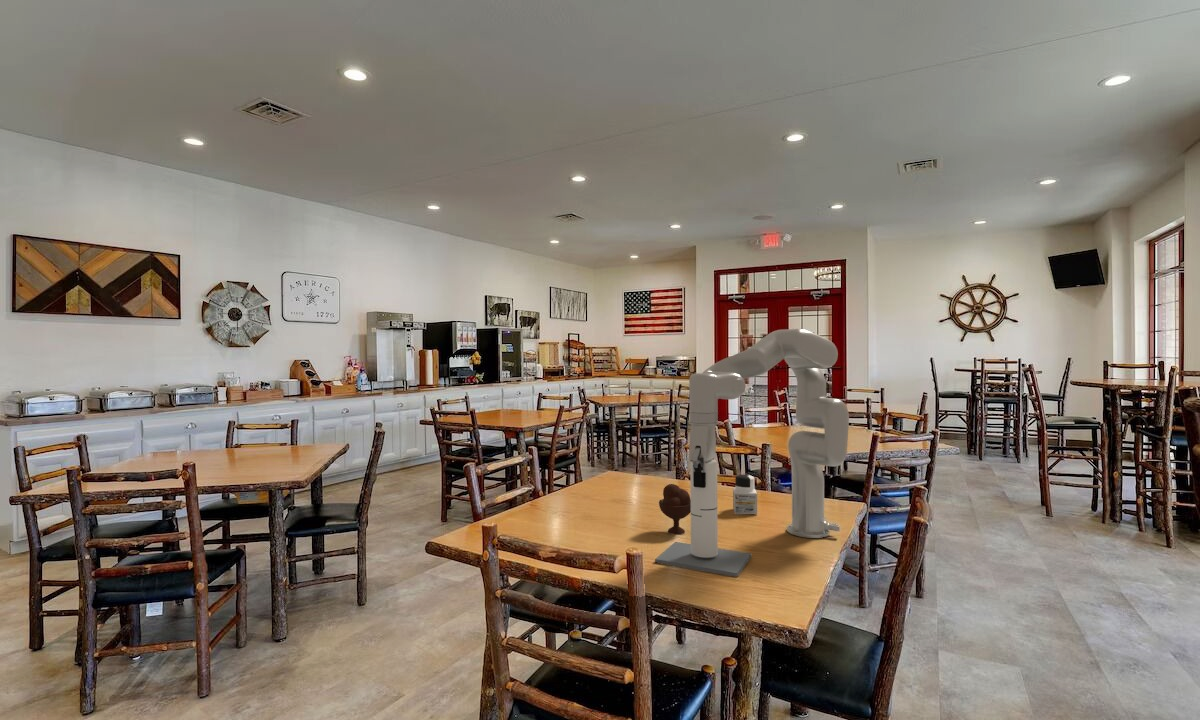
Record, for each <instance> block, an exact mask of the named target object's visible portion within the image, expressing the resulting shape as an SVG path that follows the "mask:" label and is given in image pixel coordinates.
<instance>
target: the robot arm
mask: <svg viewBox="0 0 1200 720" xmlns="http://www.w3.org/2000/svg"><path fill="white" fill-rule="evenodd" d="M838 352H839V351H838V348H837V346H836V345H835V343H834V342H832V341H831V340H829V339H828V338H826V337H823V336H821V335H819V334H816V333H814V332H812V331H809V330H806V329H803V328H791V329H790V328H789V329H787V328H786V329H777V330H774V331H772V332H770V333H768V334H767V335H766V336H763V338H761V339H760V340H758V341H757V342H755V344H753V345H751V346H750V347H749V348H747V349H745V350H743V351H741V352H738V353H735V354H733V355H730V356H728V357H726V358H723V359H720V360H719V361H717V362H715V363H713V364H712V365H711V366H709V367H707V368H706V369H705V370H704V371H702V372H701V373H700V372H699V373H698V372H697V373H692V374H690V376H689V382H688V383H689V387H688V388H689V391H688V392H689V394H688V395H689V399H688V400H689V401H688V402H689V425H690V432H689V447H688V448H689V449H688V460H689V461H693V486H694V487H700V488H705V487H706V473H705V472H704V470H705V463H706V462H708V461H709V460H711V459H713V460H715V457H716V455H717V454H716V451H717V449H716V448H717V441H716V438H717V436H716V426H717V425H719V423H718V422H719V421H718V420H719V419H718V417H719V416H718V415H719V411H718V409H719V408H718V404H719V403H718V400H719V399H721V400H735V399H738V398H740V397H741V396H742V395H744V393H745V391H746V381H745V379H750V378H754V377H758V376H759V377H760V376H762V375H764V374H766V373H767V372H768V371H769V370H771V369H772V368H774V367H775V366H776V365H778V363H780V362H782V361H783V360H784V362H785V363H786V364H787V365H788V366H789V368H790V369H791V370H792V372H793V373H794V376H795V378H796V382H797V383H796V385H797V389H796V403H795V420H796V422H797V423H798V424H799V425H801V426H803V427H807V428H815V429H823V431H824V432H823V433H822V432H817V431H810V430H809V431H808V430H800V431H796V432H794V433H793V434H792V435H790V438H789V440H788V443H787V444H788V445H787V446H788V447H787V449H788V454H789V459H790V464H791V523H790V524H788V525H787V526H786V531H787V532H788V533H789V534H791V535H793V536H797V537H800V538H808V539H822V538H823V537H824V538H827V537H828V536H830V534H831V532H830V531H834V532H840V530H841V527H840V526H841V525H840V524H837V523H836V522H828V521H827V517H825V475H824V472H823V469H822V468H821V466H827V467H839V466H841V465H842V464H843V463H844V461H845V460H846V457H847V454H848V453H847V452H848V442H849V441H848V440H849V426H850V425H849V424H850V414H849V410H848V407H847V405H846V403H845V402H843V400H841V399H838V398H833V397H827V381H826V378H825V375H824V373H823V372H822V369H830V368H831V367H833V366H834V365H835V364H836V362H837V361H838V355H839V353H838ZM699 459H702V460H703V461H702V460H699ZM699 463H702V467H701V464H699Z"/></svg>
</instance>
